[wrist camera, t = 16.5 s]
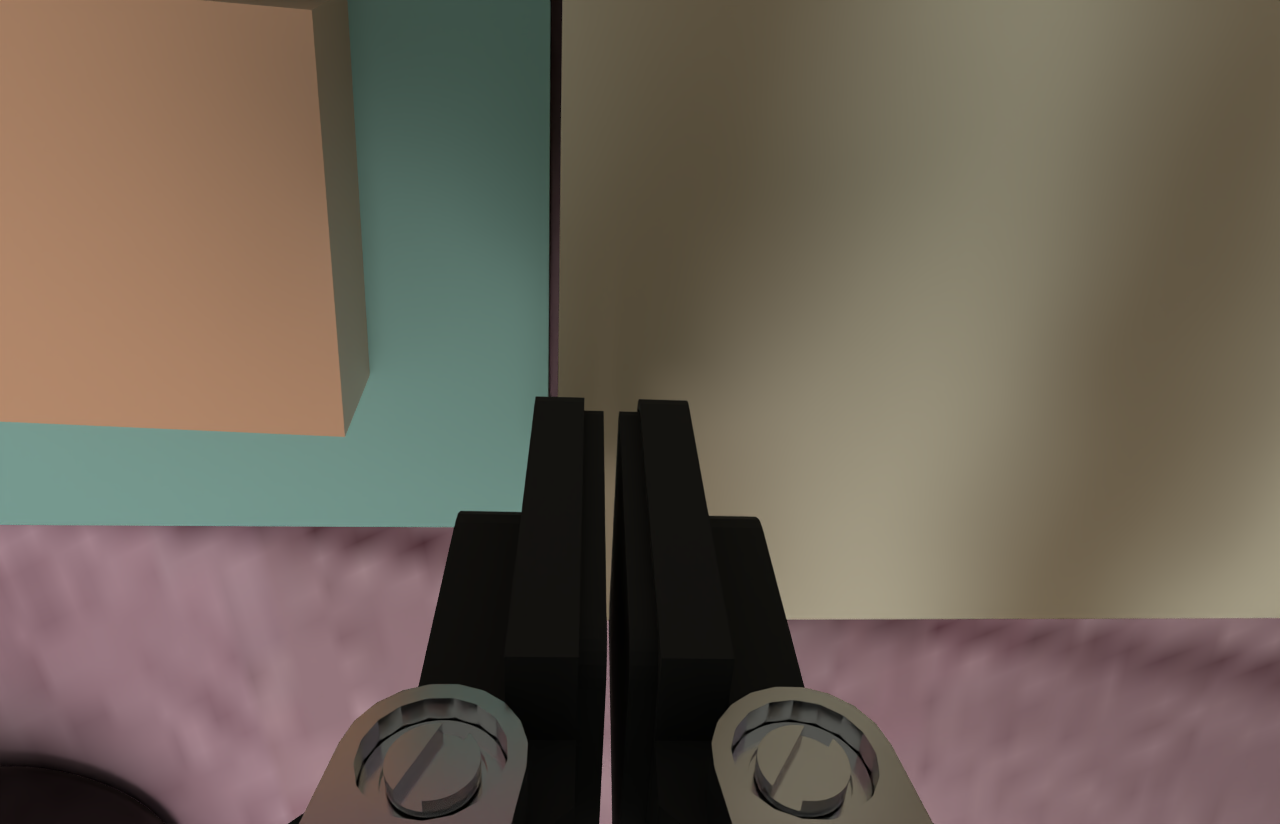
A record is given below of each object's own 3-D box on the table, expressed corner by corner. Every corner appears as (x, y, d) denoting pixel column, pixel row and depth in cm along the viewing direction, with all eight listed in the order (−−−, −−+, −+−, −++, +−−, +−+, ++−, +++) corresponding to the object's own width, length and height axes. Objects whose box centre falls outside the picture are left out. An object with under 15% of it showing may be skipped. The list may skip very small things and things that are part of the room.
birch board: (1954, -657, 11) (2602, -905, 7) (1350, 480, 19) (1525, 617, 15) (574, -829, 9) (575, -1230, 6) (558, 472, 17) (555, 619, 14)
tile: (-235, -39, 10) (-122, -52, 12) (-79, 418, 13) (-6, 355, 15) (311, 10, 11) (347, -10, 13) (345, 437, 14) (369, 374, 16)
